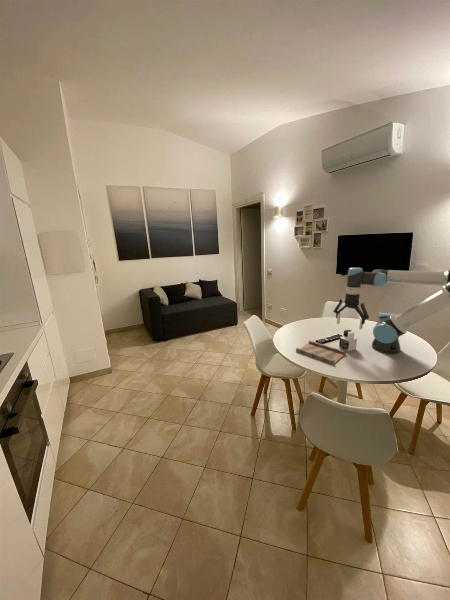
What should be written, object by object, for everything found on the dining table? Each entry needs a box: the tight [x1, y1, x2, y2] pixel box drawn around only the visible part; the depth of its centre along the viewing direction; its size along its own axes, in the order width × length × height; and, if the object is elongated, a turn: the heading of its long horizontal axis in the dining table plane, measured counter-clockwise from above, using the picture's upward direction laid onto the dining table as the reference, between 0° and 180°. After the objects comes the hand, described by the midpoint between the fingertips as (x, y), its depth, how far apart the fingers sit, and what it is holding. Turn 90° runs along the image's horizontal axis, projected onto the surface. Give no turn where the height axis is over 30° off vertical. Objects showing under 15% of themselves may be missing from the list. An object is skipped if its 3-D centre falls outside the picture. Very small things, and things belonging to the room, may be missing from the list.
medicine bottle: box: [338, 329, 358, 352], centre depth 154 cm, size 7×7×12 cm
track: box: [295, 340, 347, 366], centre depth 150 cm, size 24×17×2 cm
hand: (349, 326), depth 152 cm, fingers open, 13 cm apart
